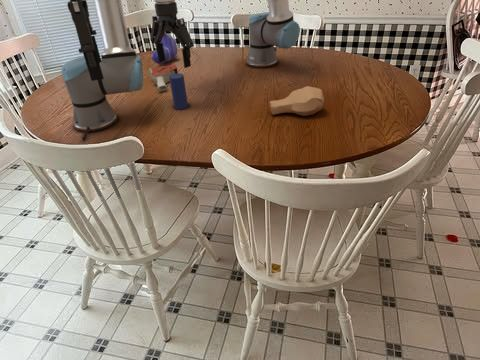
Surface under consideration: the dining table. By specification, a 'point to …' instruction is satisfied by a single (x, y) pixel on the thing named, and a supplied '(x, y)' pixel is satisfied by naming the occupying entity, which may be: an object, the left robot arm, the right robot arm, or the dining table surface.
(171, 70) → the tape dispenser
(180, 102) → the can
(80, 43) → the left robot arm
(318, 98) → the squash
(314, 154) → the dining table surface
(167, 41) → the toy
